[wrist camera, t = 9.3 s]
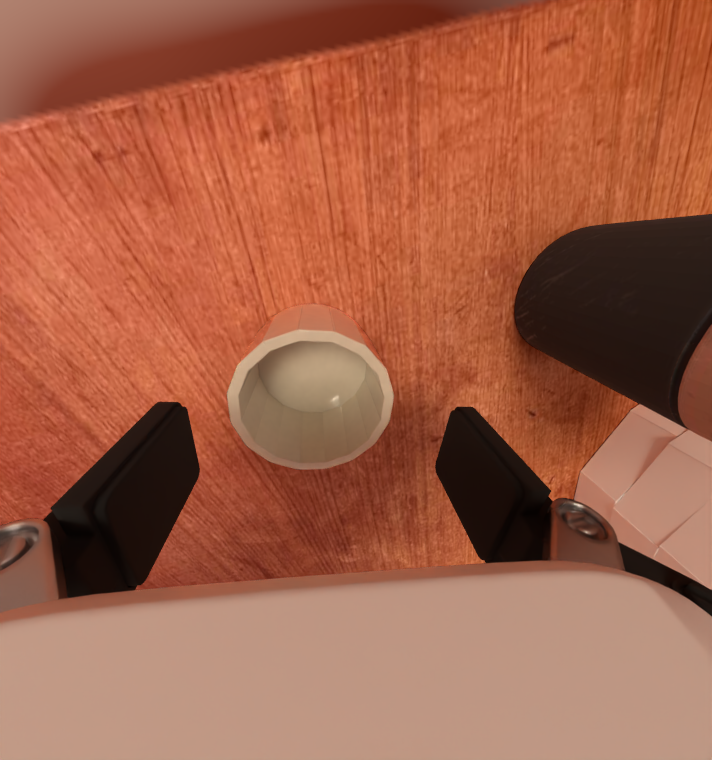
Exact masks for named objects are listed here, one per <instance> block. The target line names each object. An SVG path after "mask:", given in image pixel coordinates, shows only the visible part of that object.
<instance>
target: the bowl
mask: <svg viewBox="0 0 712 760" xmlns="http://www.w3.org/2000/svg"><path fill="white" fill-rule="evenodd" d="M227 400H228V408H229V415H230V422H231V424H232V425H233V427H234V428H235V430H236V431H237V433H238V434H239V436H240V437H241V439H242V440H243V442H244V443H245V445H246V446H247V447H248V448H250V449H251V450H253V451H254V452H256V453H257V454H259V455H260V456H262V457H263V458H265V459H266V460H268V461H269V462H271V463H275V464H278V465H282V466H286V467H289V468H293V469H298V470H307V469H326V468H327V469H328V468H331V467H334V466H337V465H340V464H343V463H346V462H349V461H352V460H354V459H355V458H357V457H358V456H359V455H361V454H362V453H363V452H365V451H366V450H367V449H369V448H370V447H371V446H373V445H374V444H375V443H376V442H377V440H378V439H379V437H380V436H381V434H382V433H383V431H384V430H385V428H386V426H387V425H388V423H389V421H390V416H391V411H392V405H393V400H394V393H393V390H392V386H391V382H390V379H389V375H388V372H387V369H386V367H385V366H384V364H383V362H382V360H381V358H380V357H379V355H378V353H377V351H376V350H375V348H374V346H373V344H372V343H371V341H370V339H369V337H368V336H367V335H366V333H365V332H364V331H363V329H362V328H361V327H360V325H359V324H358V323H357V322H356V321H355V320H354V319H353V318H351V317H350V316H349V315H347V314H346V313H344V312H342V311H341V310H338V309H336V308H334V307H330V306H327V305H322V304H301V305H296V306H292V307H289V308H287V309H284V310H282V311H281V312H279V313H277V314H276V315H274V316H273V317H272V318H271V319H269V320H268V321H267V322H266V323H265V325H264V326H263V327H262V328H261V329H260V330H259V331H258V332H257V334H256V336H255V337H254V339H253V341H252V342H251V344H250V345H249V347H248V349H247V350H246V352H245V354H244V355H243V357H242V358H241V360H240V362H239V363H238V365H237V367H236V370H235V372H234V375H233V378H232V380H231V383H230V386H229V388H228V391H227Z"/></svg>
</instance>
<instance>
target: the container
mask: <svg viewBox="0 0 712 760" xmlns="http://www.w3.org/2000/svg"><path fill="white" fill-rule="evenodd" d="M574 500H575V501H578V502H581V503H583V504H585V505H587V506H589V507H590V508H592V509H593V510H595V511H596V512H598V513H599V514H600V515H601V516H603V517H604V518H605V519H606V520H607V521H608V522H609V524H610V525H611V526H612V527H613V529H614V531H615V533H616V535H617V539H618V542H620V543H622V544H624V545H626V546H628V547H630V548H632V549H634V550H636V551H638V552H640V553H642V554H644V555H646V556H648V557H650V558H652V559H653V560H655V561H657V562H659V563H661V564H663V565H665V566H667V567H669V568H671V569H673V570H675V571H677V572H679V573H681V574H683V575H685V576H687V577H689V578H691V579H693V580H695V581H697V582H699V583H700V584H702V585H704V586H705V587H707V588H709V589H711V590H712V442H711V441H709V440H707V439H705V438H703V437H701V436H699V435H697V434H696V433H694V432H692V431H690V430H688V429H686V428H684V427H682V426H680V425H678V424H676V423H675V422H673V421H671V420H669V419H667V418H665V417H663V416H661V415H660V414H658V413H656V412H654V411H652V410H650V409H648V408H646V407H645V406H643V405H641V404H639V405H638V406H636V407H635V408H633V409H632V410H630V412H629V413H628V415H627V416H626V417H625V418H624V419H623V421H622V422H621V423H620V424H619V425H618V427H617V428H616V429H615V430H614V431H613V433H612V434H611V435H610V436H609V438H608V439H607V440H606V441H605V442H604V444H603V445H602V446H601V447H600V448H599V450H598V451H597V452H596V453H595V454H594V456H593V457H592V458H591V459H590V461H589V462H588V463H587V464H586V465H585V467H584V468H583V469H582V470H581V471H580V475H579V479H578V484H577V488H576V493H575V497H574Z"/></svg>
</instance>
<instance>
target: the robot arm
mask: <svg viewBox="0 0 712 760" xmlns="http://www.w3.org/2000/svg"><path fill="white" fill-rule="evenodd" d="M435 468H436V473H437V475H438V477H439V479H440V481H441V483H442V485H443V487H444V489H445V491H446V493H447V495H448V497H449V499H450V501H451V503H452V505H453V507H454V509H455V511H456V513H457V515H458V517H459V519H460V521H461V523H462V525H463V527H464V529H465V531H466V533H467V535H468V537H469V539H470V541H471V543H472V544H473V546H474V548H475V550H476V552H477V554H478V556H479V557H480V559H482V560H485V562H486V563H482V564H467V565H453V566H438V567H424V568H409V569H395V570H381V571H368V572H354V573H341V574H328V575H314V576H301V577H288V578H275V579H263V580H250V581H238V582H225V583H213V584H200V585H188V586H175V587H165V588H154V589H144V590H135V589H136V587H137V585H141V584H143V583H144V582H145V580H146V578H147V577H148V575H149V573H150V571H151V569H152V567H153V565H154V563H155V561H156V559H157V557H158V555H159V553H160V551H161V549H162V548H163V546H164V544H165V542H166V540H167V538H168V536H169V534H170V532H171V530H172V528H173V526H174V524H175V522H176V520H177V518H178V516H179V514H180V512H181V510H182V509H183V507H184V505H185V503H186V501H187V499H188V497H189V495H190V493H191V491H192V489H193V487H194V485H195V483H196V481H197V479H198V477H199V472H200V468H199V463H198V458H197V453H196V449H195V444H194V439H193V435H192V430H191V425H190V420H189V416H188V411H187V408H186V407H182V406H181V404H180V403H179V402H158V403H156V404H155V405H154V406H153V407H152V408H151V409H150V410H149V411H148V412H147V413H146V414H145V415H144V416H143V417H142V418H141V419H140V420H139V421H138V422H137V423H136V424H135V425H134V426H133V427H132V428H131V429H130V430H129V431H128V432H127V433H126V434H125V435H124V436H123V437H122V438H121V439H120V440H119V441H118V442H117V443H116V444H115V445H114V446H113V447H112V448H111V449H110V450H109V451H108V452H107V453H106V454H105V455H104V456H103V457H102V458H101V459H100V460H99V461H98V462H97V463H96V464H95V465H94V466H93V467H92V468H91V469H90V470H89V471H88V472H86V473H85V474H84V475H83V476H82V477H81V478H80V479H79V480H78V481H77V482H76V483H75V484H74V485H73V486H72V487H71V488H70V489H69V490H68V491H67V492H66V493H65V494H64V495H63V496H62V497H61V498H60V499H59V500H58V501H57V502H56V503H55V504H54V505H53V506H52V507H51V510H52V512H51V513H50V514H49V515H48V516H47V517H46V518H45V519H44V520H41V519H29V518H28V519H23V520H17V521H13V522H10V523H7V524H4V525H1V526H0V760H712V590H711V589H709V588H707V587H705V586H704V585H702V584H700V583H699V582H697V581H695V580H693V579H691V578H689V577H687V576H685V575H683V574H681V573H679V572H677V571H675V570H673V569H671V568H669V567H667V566H665V565H663V564H661V563H659V562H657V561H655V560H653V559H652V558H650V557H648V556H646V555H644V554H642V553H640V552H638V551H636V550H634V549H632V548H630V547H628V546H626V545H624V544H622V543H620V542H618V539H617V535H616V533H615V531H614V529H613V527H612V526H611V525H610V524H609V522H608V521H607V520H606V519H605V518H604V517H603V516H601V515H600V514H599V513H598V512H596V511H595V510H593V509H592V508H590V507H589V506H587V505H585V504H583V503H581V502H578V501H575V500H572V499H567V498H559V499H556V500H554V501H552V500H551V499H550V498H549V497H548V496H549V494H550V492H551V490H550V489H549V488H548V487H547V486H546V485H545V484H544V483H543V482H542V481H541V480H540V478H539V477H538V476H537V475H536V474H535V473H534V472H533V471H532V470H531V469H530V468H529V467H528V466H527V464H526V463H525V462H524V461H523V460H522V459H521V458H520V457H519V456H518V455H517V454H516V453H515V452H514V450H513V449H512V448H511V447H510V446H509V445H508V444H507V443H506V442H505V441H504V440H503V439H502V438H501V436H500V435H499V434H498V433H497V432H496V431H495V430H494V429H493V428H492V427H491V426H490V425H489V423H488V422H487V421H486V420H485V419H484V418H483V417H482V416H481V415H480V414H479V413H478V412H477V411H476V409H474V408H473V407H456V409H455V410H453V411H452V412H451V413H450V416H449V419H448V423H447V426H446V430H445V433H444V437H443V440H442V444H441V447H440V450H439V454H438V457H437V461H436V465H435Z"/></svg>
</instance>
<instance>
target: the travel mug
mask: <svg viewBox="0 0 712 760" xmlns="http://www.w3.org/2000/svg"><path fill="white" fill-rule="evenodd" d="M515 320H516V325H517V328H518V330H519V332H520V334H521V336H522V337H523V338H524V339H525V340H526V342H528V343H529V344H530V345H532V346H533V347H535V348H537V349H538V350H540V351H542V352H544V353H546V354H547V355H549V356H551V357H553V358H555V359H557V360H558V361H560V362H562V363H564V364H566V365H568V366H570V367H572V368H573V369H575V370H577V371H579V372H581V373H583V374H585V375H586V376H588V377H590V378H592V379H594V380H596V381H598V382H600V383H601V384H603V385H605V386H607V387H609V388H611V389H613V390H615V391H616V392H618V393H620V394H622V395H624V396H626V397H628V398H630V399H631V400H633V401H635V402H637V403H639V404H641V405H643V406H645V407H646V408H648V409H650V410H652V411H654V412H656V413H658V414H660V415H661V416H663V417H665V418H667V419H669V420H671V421H673V422H675V423H676V424H678V425H680V426H682V427H684V428H686V429H688V430H690V431H692V432H694V433H696V434H697V435H699V436H701V437H703V438H705V439H707V440H709V441H711V442H712V214H708V215H697V216H687V217H676V218H666V219H655V220H645V221H634V222H624V223H614V224H605V225H596V226H589V227H585V228H580V229H578V230H575V231H572V232H570V233H568V234H566V235H564V236H562V237H561V238H559V239H558V240H556V241H555V242H553V243H552V244H551V245H550V246H548V247H547V248H546V249H545V250H544V251H543V252H542V253H541V254H540V255H539V256H538V257H537V259H536V260H535V261H534V262H533V264H532V265H531V267H530V268H529V270H528V271H527V273H526V275H525V277H524V278H523V281H522V283H521V285H520V288H519V291H518V294H517V298H516V303H515Z"/></svg>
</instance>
